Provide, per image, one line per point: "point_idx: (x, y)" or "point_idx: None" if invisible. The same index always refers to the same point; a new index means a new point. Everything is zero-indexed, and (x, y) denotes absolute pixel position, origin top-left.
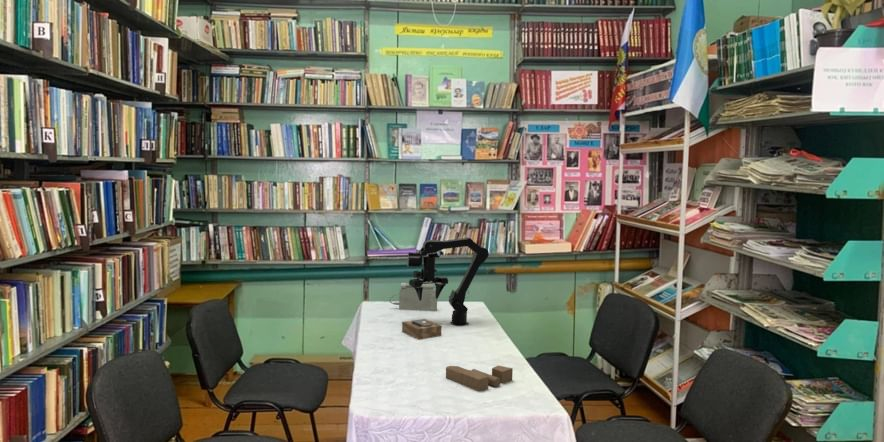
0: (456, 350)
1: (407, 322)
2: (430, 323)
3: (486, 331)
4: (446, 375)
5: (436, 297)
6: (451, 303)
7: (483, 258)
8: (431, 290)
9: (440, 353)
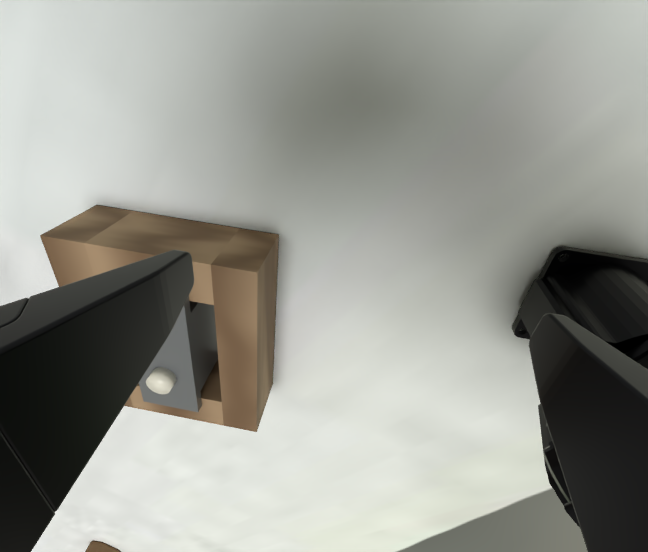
0: (213, 492)
1: (78, 270)
2: (223, 374)
3: (519, 461)
4: (88, 548)
5: (541, 347)
6: (548, 460)
7: None
8: None
9: (149, 479)
